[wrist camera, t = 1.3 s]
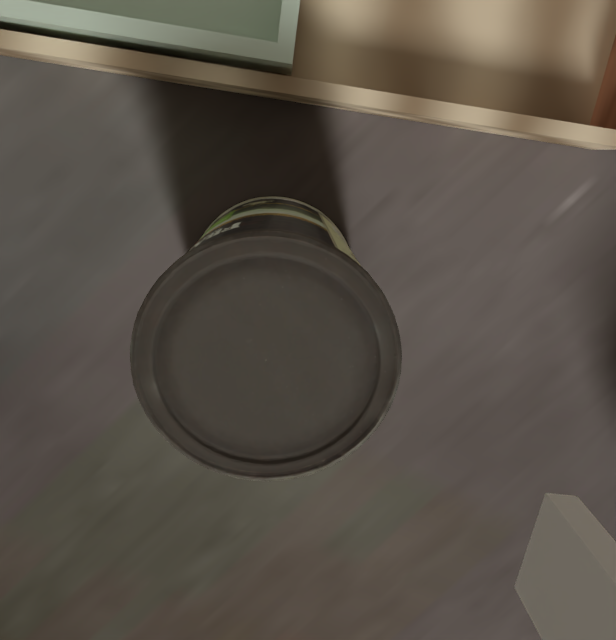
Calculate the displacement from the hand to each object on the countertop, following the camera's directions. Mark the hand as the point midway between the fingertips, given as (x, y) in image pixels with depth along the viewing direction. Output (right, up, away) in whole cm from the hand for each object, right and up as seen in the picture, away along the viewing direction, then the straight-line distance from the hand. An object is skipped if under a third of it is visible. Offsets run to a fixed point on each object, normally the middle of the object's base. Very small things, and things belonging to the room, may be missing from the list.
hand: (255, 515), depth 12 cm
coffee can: (-1, +7, +22) cm, 23 cm away
